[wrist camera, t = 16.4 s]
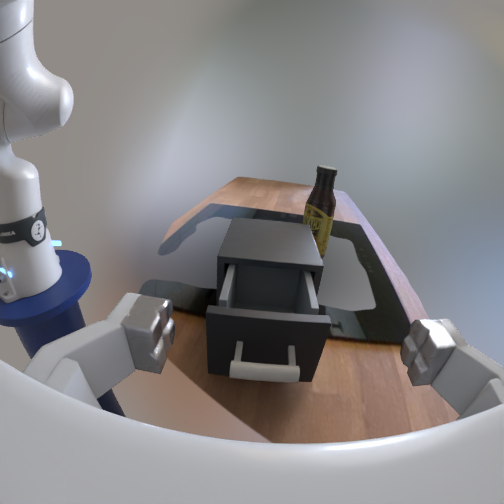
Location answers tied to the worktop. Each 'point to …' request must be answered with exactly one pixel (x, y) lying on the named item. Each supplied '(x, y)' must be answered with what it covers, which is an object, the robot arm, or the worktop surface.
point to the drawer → (266, 326)
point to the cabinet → (269, 248)
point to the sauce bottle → (321, 207)
